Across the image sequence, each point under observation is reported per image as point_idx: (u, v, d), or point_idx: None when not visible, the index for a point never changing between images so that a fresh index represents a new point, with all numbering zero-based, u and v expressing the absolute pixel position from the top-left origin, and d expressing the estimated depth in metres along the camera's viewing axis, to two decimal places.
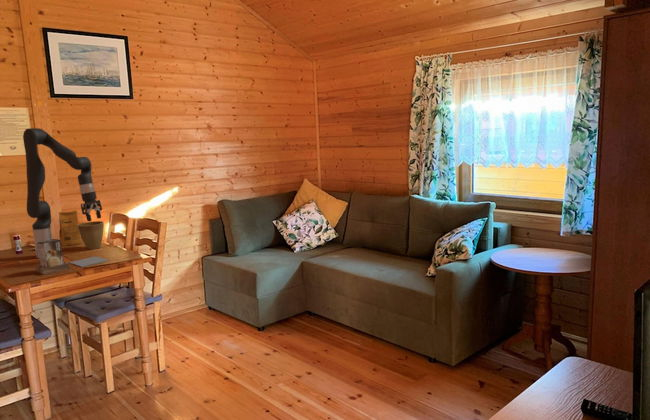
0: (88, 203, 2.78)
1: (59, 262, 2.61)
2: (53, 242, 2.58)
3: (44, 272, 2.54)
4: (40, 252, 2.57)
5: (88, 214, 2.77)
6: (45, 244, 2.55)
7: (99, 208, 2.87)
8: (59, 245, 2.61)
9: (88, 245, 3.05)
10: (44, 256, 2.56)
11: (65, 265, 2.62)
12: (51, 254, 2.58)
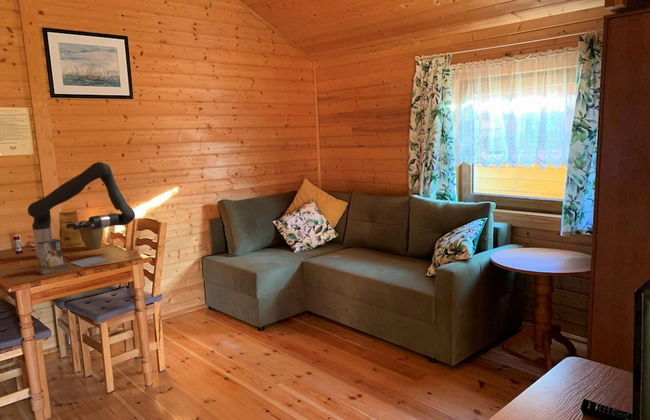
0: None
1: (59, 262, 2.61)
2: (53, 242, 2.58)
3: (44, 272, 2.54)
4: (41, 252, 2.57)
5: (81, 227, 2.67)
6: (45, 244, 2.55)
7: (75, 224, 2.75)
8: (59, 245, 2.61)
9: (88, 245, 3.05)
10: (44, 256, 2.56)
11: (65, 265, 2.62)
12: (51, 254, 2.58)
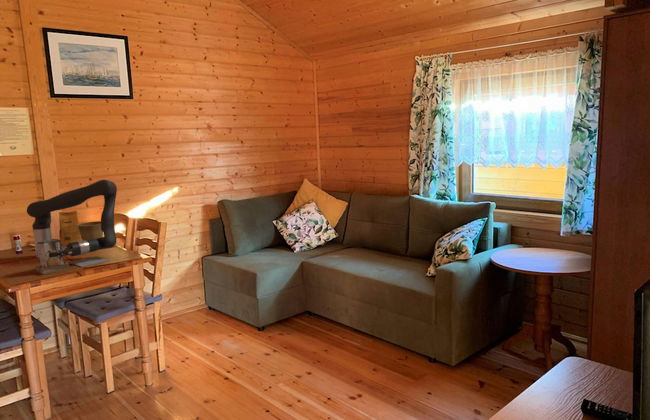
0: None
1: (59, 262, 2.61)
2: (53, 242, 2.58)
3: (44, 272, 2.54)
4: (40, 252, 2.57)
5: (57, 255, 2.59)
6: (45, 244, 2.55)
7: None
8: (59, 245, 2.61)
9: None
10: (44, 256, 2.56)
11: (65, 265, 2.62)
12: None
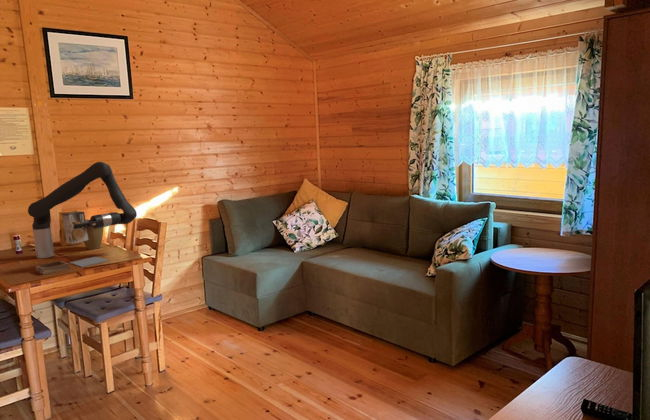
0: None
1: (83, 234, 2.70)
2: (77, 214, 2.66)
3: (44, 272, 2.54)
4: (65, 224, 2.65)
5: (81, 227, 2.67)
6: (70, 215, 2.63)
7: None
8: (83, 217, 2.69)
9: (88, 245, 3.05)
10: (69, 227, 2.64)
11: (65, 265, 2.62)
12: None
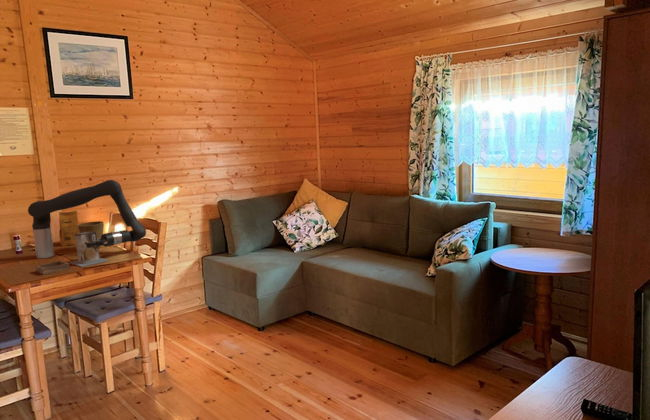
0: None
1: (95, 253, 2.76)
2: (89, 234, 2.72)
3: (44, 272, 2.54)
4: (78, 244, 2.71)
5: None
6: (82, 236, 2.69)
7: None
8: (95, 237, 2.75)
9: None
10: (81, 247, 2.70)
11: (65, 265, 2.62)
12: None
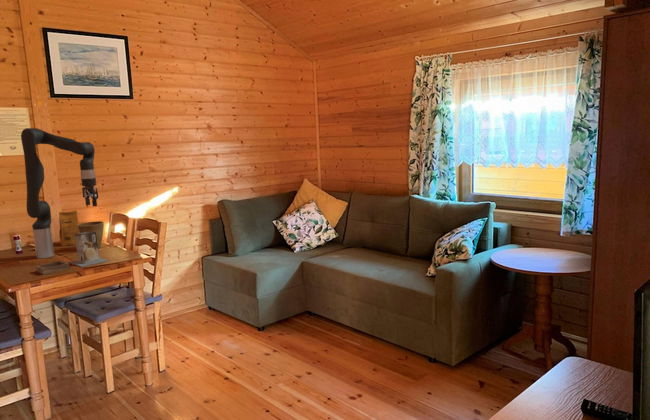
0: None
1: (95, 253, 2.76)
2: (89, 234, 2.72)
3: (44, 272, 2.54)
4: (78, 244, 2.71)
5: (95, 199, 2.81)
6: (82, 236, 2.69)
7: None
8: (95, 237, 2.75)
9: None
10: (81, 247, 2.70)
11: (65, 265, 2.62)
12: (88, 245, 2.72)
